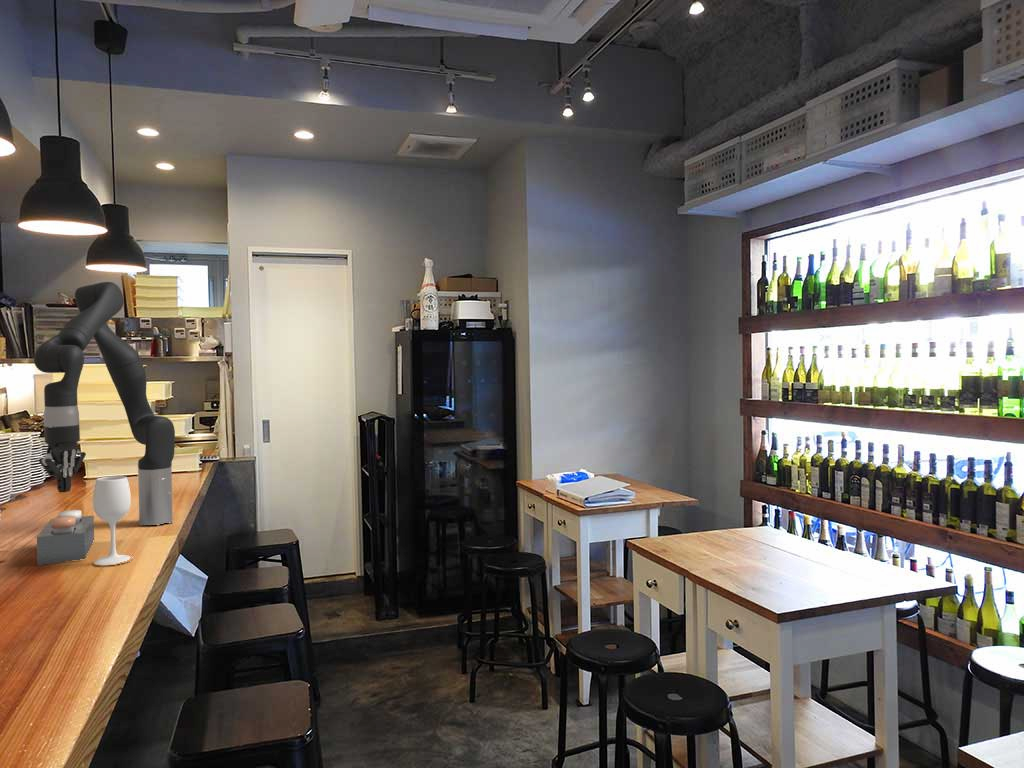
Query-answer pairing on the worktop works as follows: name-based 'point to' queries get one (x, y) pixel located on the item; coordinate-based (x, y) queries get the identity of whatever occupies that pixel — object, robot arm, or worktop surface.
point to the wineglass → (112, 509)
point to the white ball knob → (72, 514)
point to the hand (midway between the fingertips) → (64, 491)
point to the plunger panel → (65, 543)
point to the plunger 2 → (63, 524)
